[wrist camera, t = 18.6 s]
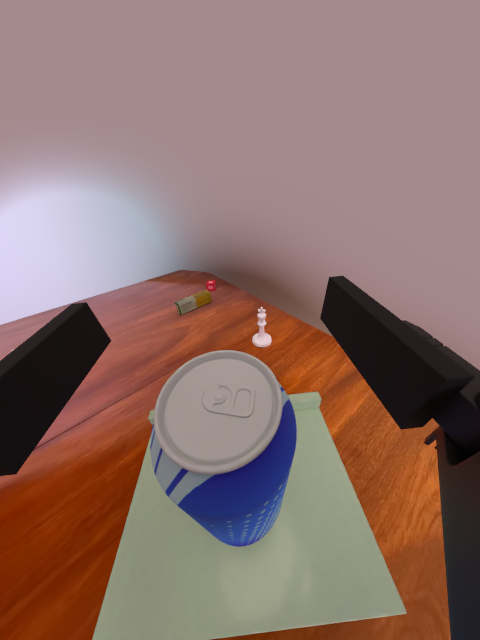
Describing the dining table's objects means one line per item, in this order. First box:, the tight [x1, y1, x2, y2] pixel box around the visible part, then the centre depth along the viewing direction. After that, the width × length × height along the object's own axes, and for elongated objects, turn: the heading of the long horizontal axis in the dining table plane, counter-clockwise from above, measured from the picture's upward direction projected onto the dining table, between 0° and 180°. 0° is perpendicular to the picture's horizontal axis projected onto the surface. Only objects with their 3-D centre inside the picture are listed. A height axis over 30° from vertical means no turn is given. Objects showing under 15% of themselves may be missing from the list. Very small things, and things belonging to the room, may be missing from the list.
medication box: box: [174, 290, 212, 315], centre depth 62 cm, size 12×3×4 cm, turn 127°
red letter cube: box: [206, 280, 216, 291], centre depth 73 cm, size 3×3×3 cm
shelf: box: [92, 392, 407, 640], centre depth 21 cm, size 16×22×10 cm
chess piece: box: [252, 307, 272, 347], centre depth 45 cm, size 5×5×10 cm
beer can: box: [150, 350, 297, 547], centre depth 15 cm, size 8×8×16 cm
